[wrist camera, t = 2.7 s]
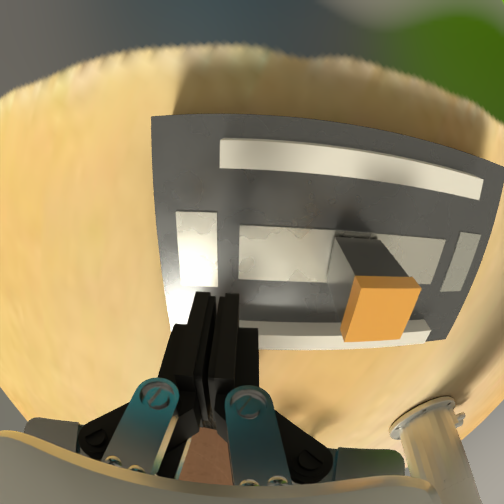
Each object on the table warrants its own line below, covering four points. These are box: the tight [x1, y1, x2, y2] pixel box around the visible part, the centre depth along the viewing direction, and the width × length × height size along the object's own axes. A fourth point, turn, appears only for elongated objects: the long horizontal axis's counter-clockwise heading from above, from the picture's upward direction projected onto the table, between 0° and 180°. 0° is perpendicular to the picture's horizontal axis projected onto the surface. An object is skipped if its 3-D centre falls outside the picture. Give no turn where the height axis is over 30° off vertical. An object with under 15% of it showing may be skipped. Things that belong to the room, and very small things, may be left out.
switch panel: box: [151, 114, 504, 350], centre depth 18 cm, size 24×16×5 cm, turn 88°
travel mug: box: [178, 408, 233, 485], centre depth 20 cm, size 8×8×20 cm
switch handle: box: [326, 237, 422, 342], centre depth 14 cm, size 3×3×5 cm
